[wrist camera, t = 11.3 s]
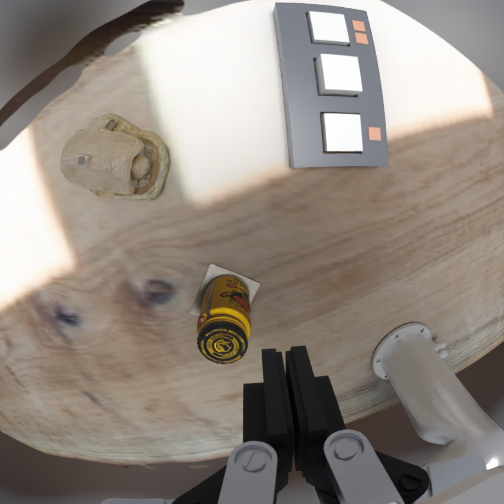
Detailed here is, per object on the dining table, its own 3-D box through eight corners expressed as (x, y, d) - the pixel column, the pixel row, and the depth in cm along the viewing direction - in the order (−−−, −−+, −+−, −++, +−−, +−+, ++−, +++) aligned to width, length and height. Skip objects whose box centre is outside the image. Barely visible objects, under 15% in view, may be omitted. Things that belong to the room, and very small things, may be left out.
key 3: (349, 118, 31) (359, 114, 28) (352, 151, 32) (362, 151, 29) (316, 117, 31) (324, 113, 28) (319, 151, 33) (327, 151, 29)
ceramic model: (73, 188, 33) (30, 201, 24) (89, 111, 30) (47, 103, 20) (159, 211, 35) (131, 231, 25) (181, 126, 32) (157, 115, 22)
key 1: (335, 25, 26) (343, 14, 23) (340, 51, 28) (349, 42, 25) (303, 22, 27) (309, 11, 23) (308, 49, 28) (314, 39, 25)
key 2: (347, 65, 27) (357, 57, 24) (351, 96, 29) (362, 91, 25) (313, 63, 27) (320, 53, 24) (317, 95, 29) (325, 89, 25)
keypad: (358, 19, 26) (366, 10, 23) (377, 165, 33) (388, 166, 30) (273, 12, 26) (275, 1, 23) (289, 166, 33) (294, 167, 30)
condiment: (260, 282, 38) (267, 334, 27) (236, 329, 41) (234, 387, 29) (210, 262, 37) (197, 308, 26) (190, 312, 40) (173, 366, 28)
